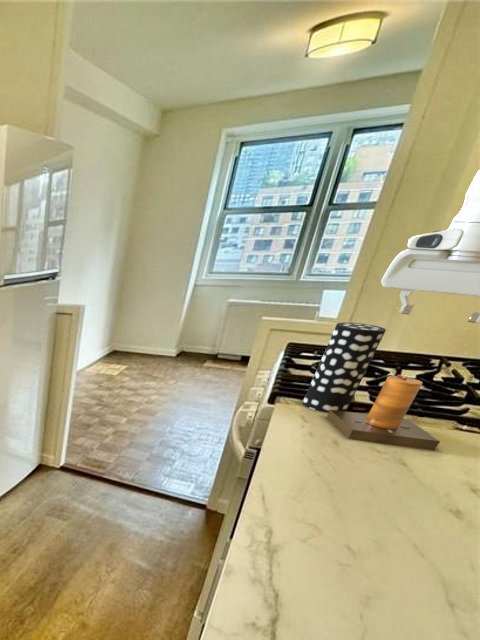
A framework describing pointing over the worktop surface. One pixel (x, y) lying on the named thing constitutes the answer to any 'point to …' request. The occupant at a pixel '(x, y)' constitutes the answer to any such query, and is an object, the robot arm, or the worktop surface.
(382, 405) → the orange ribbed cylinder
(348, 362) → the spotted tube
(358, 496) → the worktop surface
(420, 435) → the brown flat wooden slab
